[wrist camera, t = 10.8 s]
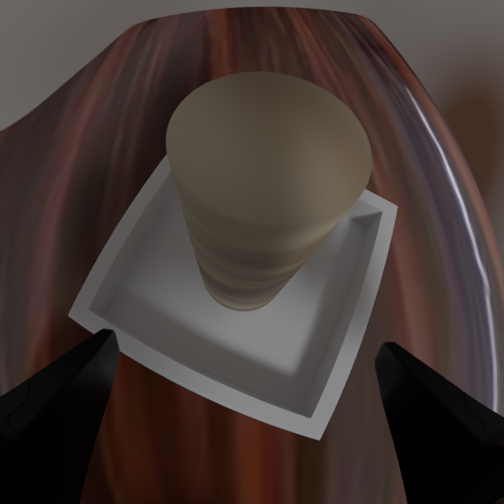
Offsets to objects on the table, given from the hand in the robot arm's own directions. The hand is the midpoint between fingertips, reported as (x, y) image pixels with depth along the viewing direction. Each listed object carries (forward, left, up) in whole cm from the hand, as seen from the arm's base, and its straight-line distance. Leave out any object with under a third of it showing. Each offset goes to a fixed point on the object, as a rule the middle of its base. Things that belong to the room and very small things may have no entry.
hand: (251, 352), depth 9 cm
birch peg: (+5, +2, -8) cm, 9 cm away
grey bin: (+5, +2, -9) cm, 10 cm away
